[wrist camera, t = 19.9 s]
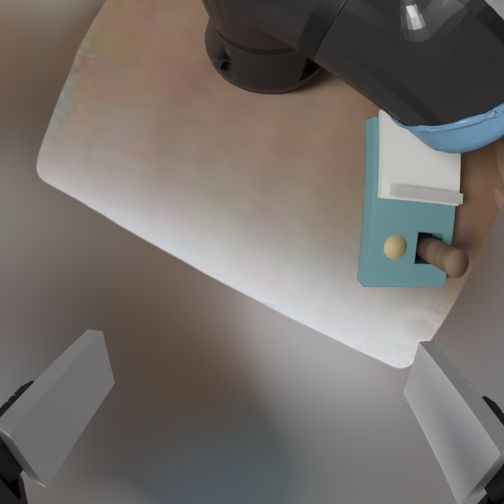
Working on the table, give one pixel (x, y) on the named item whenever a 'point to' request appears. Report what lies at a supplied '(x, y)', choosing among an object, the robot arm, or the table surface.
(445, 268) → the peg
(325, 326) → the table surface
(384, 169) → the cover
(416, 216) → the board
